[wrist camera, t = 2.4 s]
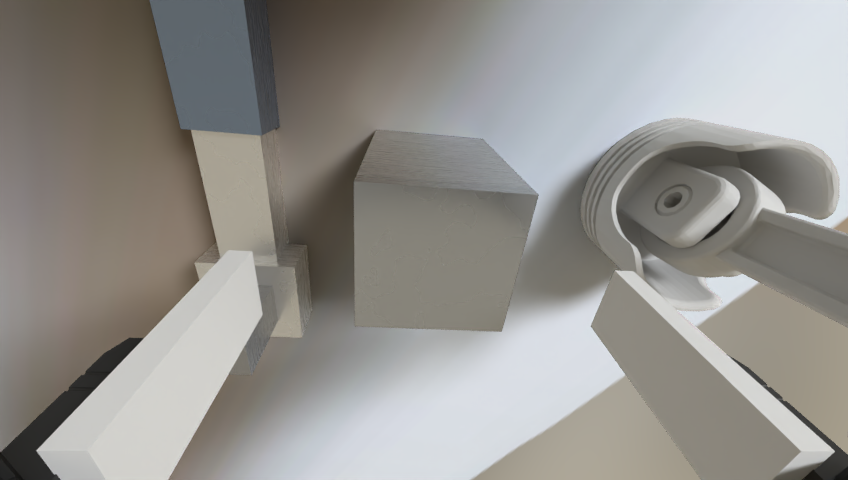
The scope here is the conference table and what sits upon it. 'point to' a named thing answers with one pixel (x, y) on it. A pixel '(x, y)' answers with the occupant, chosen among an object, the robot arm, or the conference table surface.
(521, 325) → the conference table surface
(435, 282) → the grey textured cube
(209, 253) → the blue-grey beige mallet
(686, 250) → the engine component
